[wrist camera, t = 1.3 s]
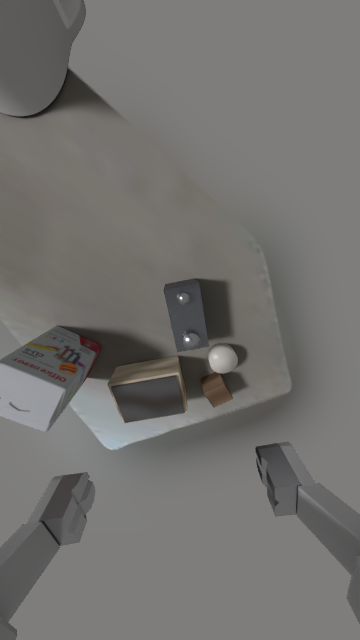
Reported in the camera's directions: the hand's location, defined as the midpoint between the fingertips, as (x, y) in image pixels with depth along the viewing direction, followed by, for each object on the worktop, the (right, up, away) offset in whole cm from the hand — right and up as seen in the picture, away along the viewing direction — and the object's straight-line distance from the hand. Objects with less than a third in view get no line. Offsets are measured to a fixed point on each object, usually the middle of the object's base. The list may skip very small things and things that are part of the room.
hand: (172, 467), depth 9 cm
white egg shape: (+8, +1, +26) cm, 27 cm away
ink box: (-19, +1, +25) cm, 32 cm away
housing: (+1, +9, +23) cm, 24 cm away
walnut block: (+7, -5, +28) cm, 30 cm away
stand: (-5, -5, +27) cm, 28 cm away
